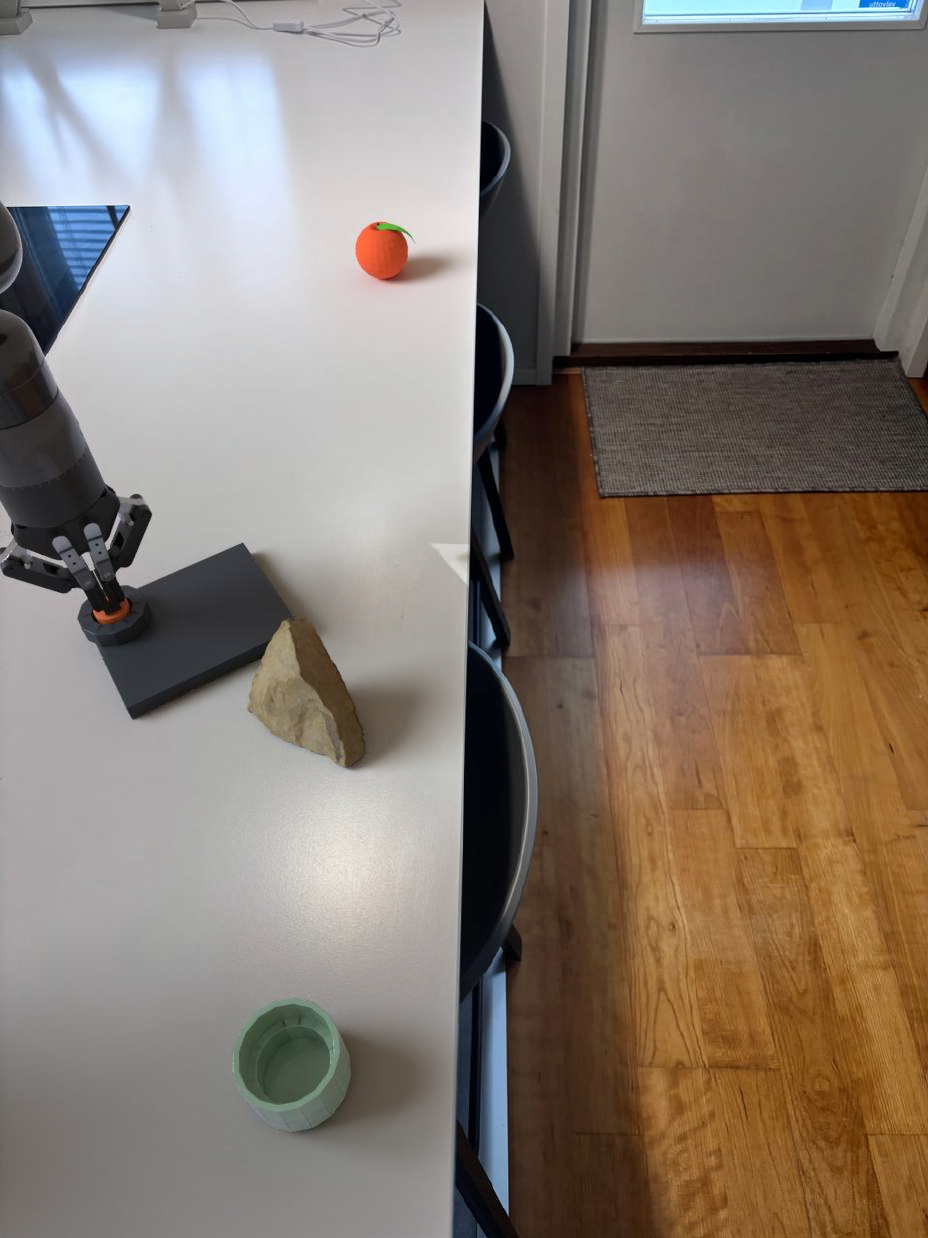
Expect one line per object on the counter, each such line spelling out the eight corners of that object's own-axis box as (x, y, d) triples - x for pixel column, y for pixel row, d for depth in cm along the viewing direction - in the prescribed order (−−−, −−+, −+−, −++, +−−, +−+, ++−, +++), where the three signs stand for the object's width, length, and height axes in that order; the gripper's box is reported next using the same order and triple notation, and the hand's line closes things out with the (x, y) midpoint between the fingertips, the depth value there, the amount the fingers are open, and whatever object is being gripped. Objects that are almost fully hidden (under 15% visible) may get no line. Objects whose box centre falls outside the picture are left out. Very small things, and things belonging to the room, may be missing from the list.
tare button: (105, 635, 84) (99, 624, 83) (94, 614, 85) (88, 603, 84) (137, 621, 85) (131, 609, 83) (126, 600, 86) (121, 589, 85)
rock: (402, 736, 74) (363, 637, 80) (328, 716, 68) (290, 609, 73) (308, 807, 78) (276, 707, 83) (228, 794, 71) (200, 687, 77)
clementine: (421, 261, 129) (416, 210, 123) (415, 288, 124) (409, 236, 119) (363, 262, 129) (356, 210, 124) (354, 288, 125) (346, 236, 120)
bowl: (276, 1156, 57) (258, 1134, 54) (235, 1061, 61) (216, 1036, 57) (369, 1094, 59) (358, 1070, 56) (324, 1006, 63) (311, 978, 59)
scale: (127, 722, 80) (114, 699, 77) (82, 626, 87) (69, 602, 85) (303, 637, 85) (296, 613, 83) (246, 553, 93) (239, 529, 90)
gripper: (-47, 513, 67) (49, 667, 80) (134, 443, 71) (196, 600, 84) (-68, 458, 71) (26, 612, 84) (103, 395, 75) (167, 551, 88)
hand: (111, 606), depth 84 cm, fingers closed
